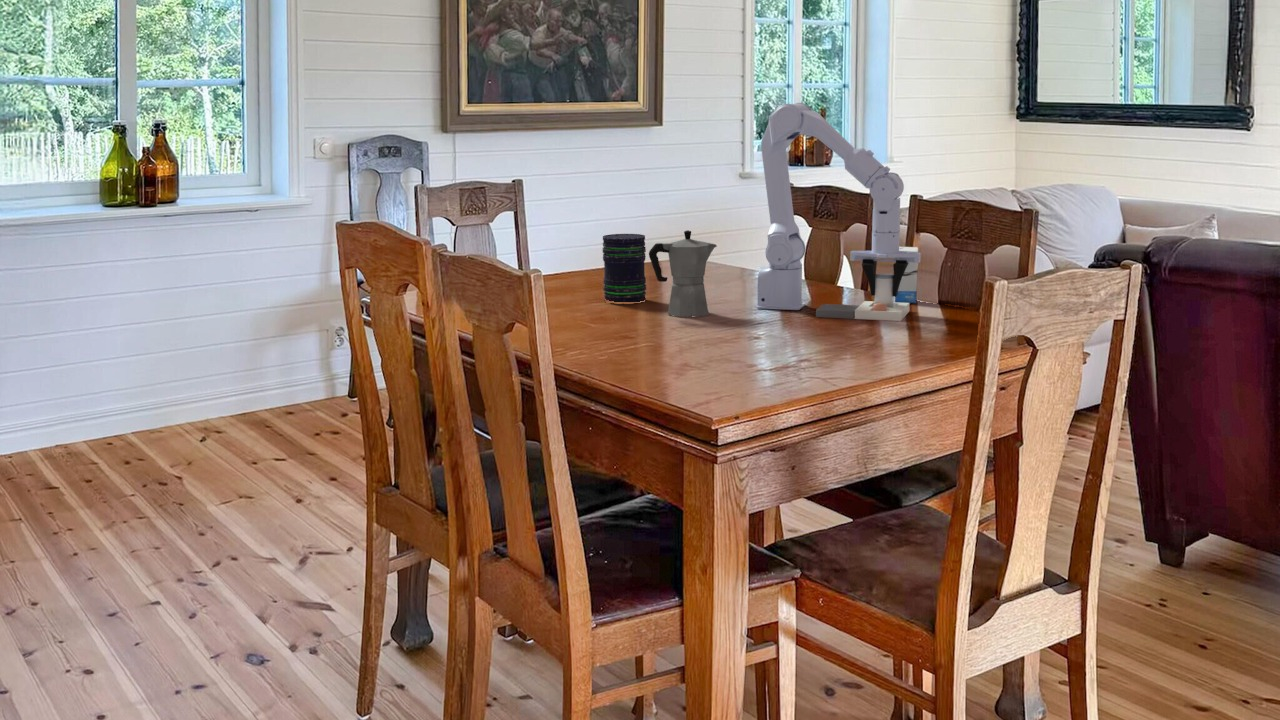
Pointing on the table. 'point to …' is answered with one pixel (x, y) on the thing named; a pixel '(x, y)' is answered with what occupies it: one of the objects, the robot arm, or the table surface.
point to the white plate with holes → (882, 312)
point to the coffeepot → (685, 274)
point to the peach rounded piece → (879, 307)
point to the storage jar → (624, 267)
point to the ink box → (908, 280)
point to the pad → (836, 311)
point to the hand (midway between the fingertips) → (884, 295)
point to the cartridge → (884, 289)
